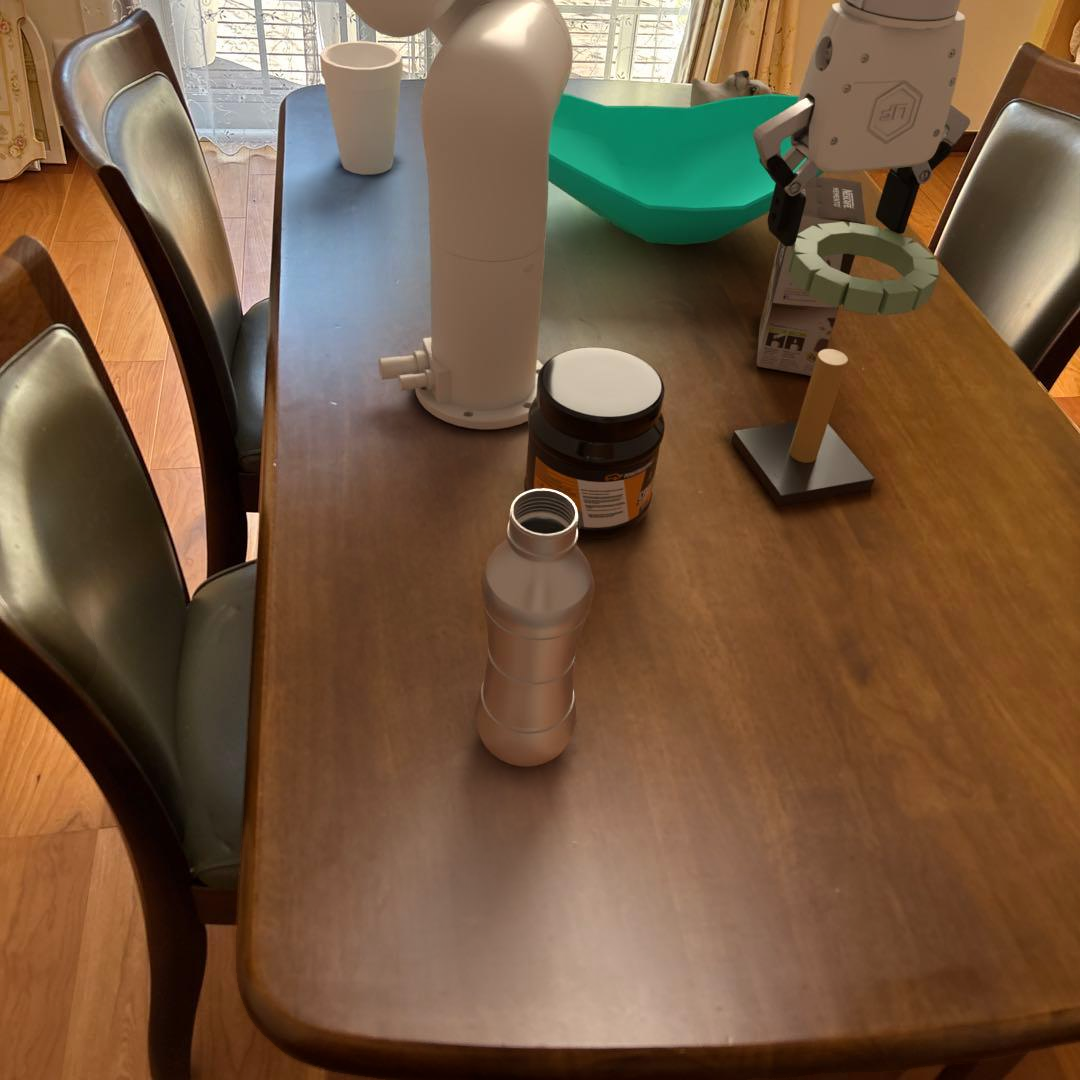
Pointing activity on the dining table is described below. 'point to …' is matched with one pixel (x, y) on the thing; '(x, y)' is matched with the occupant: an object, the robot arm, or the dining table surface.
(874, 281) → the ring
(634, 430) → the supplement container
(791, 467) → the peg stand
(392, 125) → the foam cup
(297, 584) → the dining table surface
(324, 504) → the dining table surface
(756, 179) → the table top decor
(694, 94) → the ceramic sculpture
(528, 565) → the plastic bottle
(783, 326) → the coffee box
